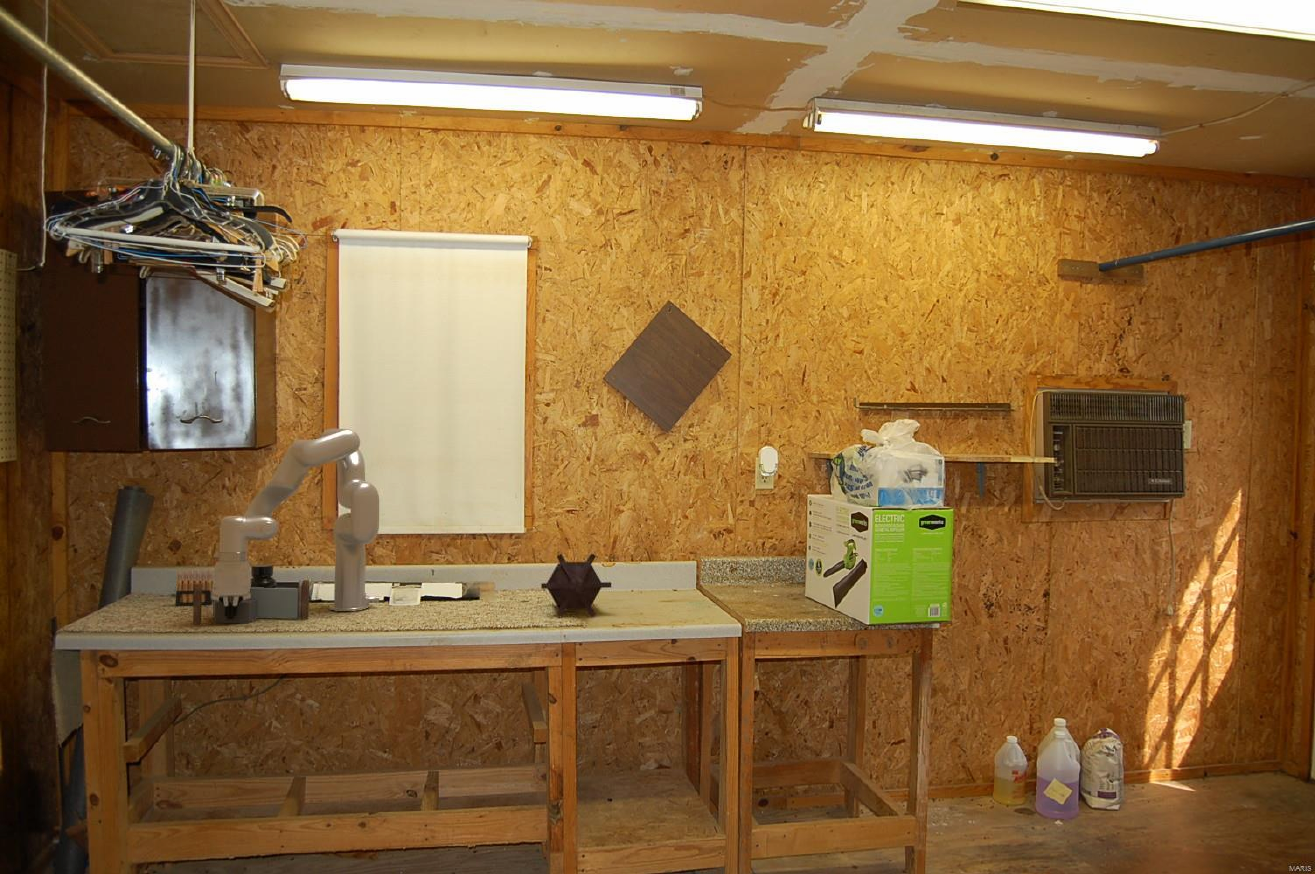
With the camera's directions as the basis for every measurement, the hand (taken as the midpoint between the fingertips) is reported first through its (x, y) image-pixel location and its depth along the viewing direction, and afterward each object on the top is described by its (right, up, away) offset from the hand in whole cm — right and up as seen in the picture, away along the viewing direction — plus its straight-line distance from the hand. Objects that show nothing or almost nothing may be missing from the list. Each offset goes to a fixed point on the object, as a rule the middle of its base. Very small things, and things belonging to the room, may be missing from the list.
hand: (230, 618), depth 251 cm
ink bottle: (-8, -2, +37) cm, 38 cm away
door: (+3, -1, +9) cm, 10 cm away
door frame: (+5, -2, +4) cm, 7 cm away
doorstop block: (-1, -2, +5) cm, 5 cm away
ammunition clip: (-25, -2, +26) cm, 36 cm away
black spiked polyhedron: (+100, -4, +28) cm, 104 cm away
